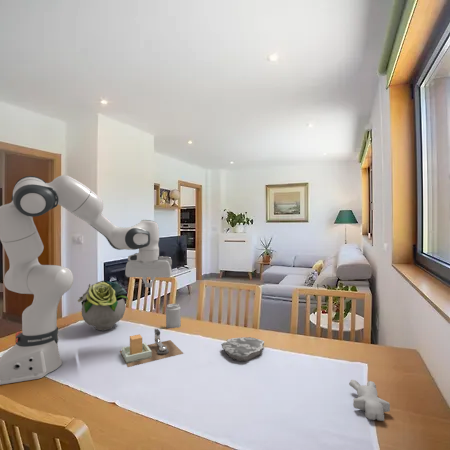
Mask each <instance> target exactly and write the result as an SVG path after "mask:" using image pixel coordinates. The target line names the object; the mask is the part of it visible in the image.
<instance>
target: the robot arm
mask: <svg viewBox="0 0 450 450" xmlns="http://www.w3.org/2000/svg"><path fill="white" fill-rule="evenodd" d="M57 206H61V207H62V208H64V209H65V210H67V211H68V212H70V213H71V214H73V215H74V216H76V217H77V218H79V219H80V220H83V221H84V222H85V223H87V224H88V225H90V227H92V228H93V229H94V230H95V231H97V232H99V234H101V235H102V236H103V237H105V239H106V241H107V242H108V243H109V246H111V247H112V248H113V249H115V250H117V251H121V250H126V251H127V250H130V251H131V250H133V251H135V250H138V252H136V253H134V254H131V255H128V256H127V262H126V265H125V272H124V273H125V277H127V278H142V281H143V284H144V288H153V283H154V281H155V280H156V278H170V277H171V276H172V273H173V272H172V266H173V260H172V258H171V257H170V256H167V255H166V256H163V255H161V256H160V247H159V242H160V230H159V229H160V228H159V224H158V223H157V222H156V221H154V220H150V219H141V221H139V222H138V223H136V224H135V225H132V226H130V227H124V226H123V227H122V226H117V225H115V224H114V223H112V221H110V220H109V219H108V218H107V217H106V216H104V215H103V209H104V201H103V200H102V198H101V197H100V196H99V195H98V194H96V192H94V191H93V190H92V189H90V188H89V187H88V186H87V185H85V184H84V183H82V182H81V181H79V180H77V179H75V178H74V177H72V176H70V175H67V174H63V175H62V174H61V175H59V176H57V177H55V178H54V179H52V181H50V182H46V181H45V180H44V179H42V178H40V177H39V176H35V175H28V176H23V177H21V178H19V179H18V180H17V181H16V183H15V185H14V187H13V190H12V195H11V202H9V203H6V204H2V205H0V242H1V244H2V247H3V249H4V251H5V254H6V255H7V258H8V263H9V269H8V270H7V271H6V272H5V274H4V278H3V284H4V286H5V288H6V289H7V290H8V291H11V292H14V293H18V294H22V295H23V294H24V295H25V294H26V295H33V301H32V303H31V304H30V305H29V306H27V307H26V308H25V309H24V310H23V311H22V314H21V324H22V325H21V326H22V327H21V328H22V329H21V331H17V332H16V333H15V335H14V336H15V344H14V345H13V346H12V347H10V349H8V350H7V351H6V352H4V353H3V354H2V355H1V356H0V385H8V384H12V383H21V382H26V381H31V380H38V379H41V378H44V377H45V376H46V375H47V374H50V373H51V372H53V371H55V370H57V369H58V368H60V367H61V366H62V364H63V361H62V359H61V354H60V351H59V345H58V344H59V335H60V334H59V327H58V325H57V324H58V323H57V321H58V319H57V314H58V308H59V307H58V306H59V304H60V301H61V299H62V297H63V296H64V295H65V293H67V292H68V291H69V290H70V289H71V288H72V286H73V284H74V274H73V272H72V271H71V269H70V268H68V267H65V266H62V265H58V264H57V265H56V264H41V263H40V262H39V257H40V256H41V255H42V253H43V251H44V247H45V246H44V243H43V241H42V238H41V237H40V233H39V232H38V229H37V226H36V224H35V222H34V217H39V216H42V215H45V214H47V213H48V212H49V211H51V210H54V209H55V208H57ZM147 278H150V282H148V281H147Z"/></svg>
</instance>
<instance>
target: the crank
mask: <svg viewBox="0 0 450 450" xmlns="http://www.w3.org/2000/svg"><path fill="white" fill-rule="evenodd" d="M161 342H162V341H161V331H160V330H159V329H158V328H156V329H154V343H155V344H156V345H157V347H158V348H159V351H161V352H164V351H166V350H167V346H164V345H163V344H162V343H161Z"/></svg>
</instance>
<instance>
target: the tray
mask: <svg viewBox="0 0 450 450" xmlns="http://www.w3.org/2000/svg"><path fill="white" fill-rule="evenodd" d="M147 345H148V344H147V343H146V342H142V353H137V354H133V355H130V345H128V346H122V347H121V351H122V355H121V357H122V356H123V357H122V359H123V358H124V359H123V360H125V361H124V363H125V362H126V363H125V365H126V364H127V363H131V362H135V361H139V360H143V359H147V358H152V351H151V350H150V348H149V347H148V346H147Z"/></svg>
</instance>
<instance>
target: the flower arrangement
mask: <svg viewBox="0 0 450 450" xmlns="http://www.w3.org/2000/svg"><path fill="white" fill-rule="evenodd" d="M127 294H128V292H127V291H126V288H124V287H123V286H122V285H121V284H119V283H118V281H114V282H113V281H109V280H108V281H107V280H99V281H97V282H95V283H93V284H92V285H91V284H90V283H89V284H88V286H87V289H86V291H85V292H84V293H82V296H80V297H79V299H78V300H77V302H78V303H80V302H81V317H82V319H83V321H84V322H85V323H86V324H88V325H89V326H91V327H94V329H96V331H107V330H111V329H112V328H113V327H114V325H115V324H117V323H119V321H121V320H122V319H123V317H124V315H125V312H126V301H125V299H126V300H127V301H130V300H129V298H128V296H126V295H127Z"/></svg>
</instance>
